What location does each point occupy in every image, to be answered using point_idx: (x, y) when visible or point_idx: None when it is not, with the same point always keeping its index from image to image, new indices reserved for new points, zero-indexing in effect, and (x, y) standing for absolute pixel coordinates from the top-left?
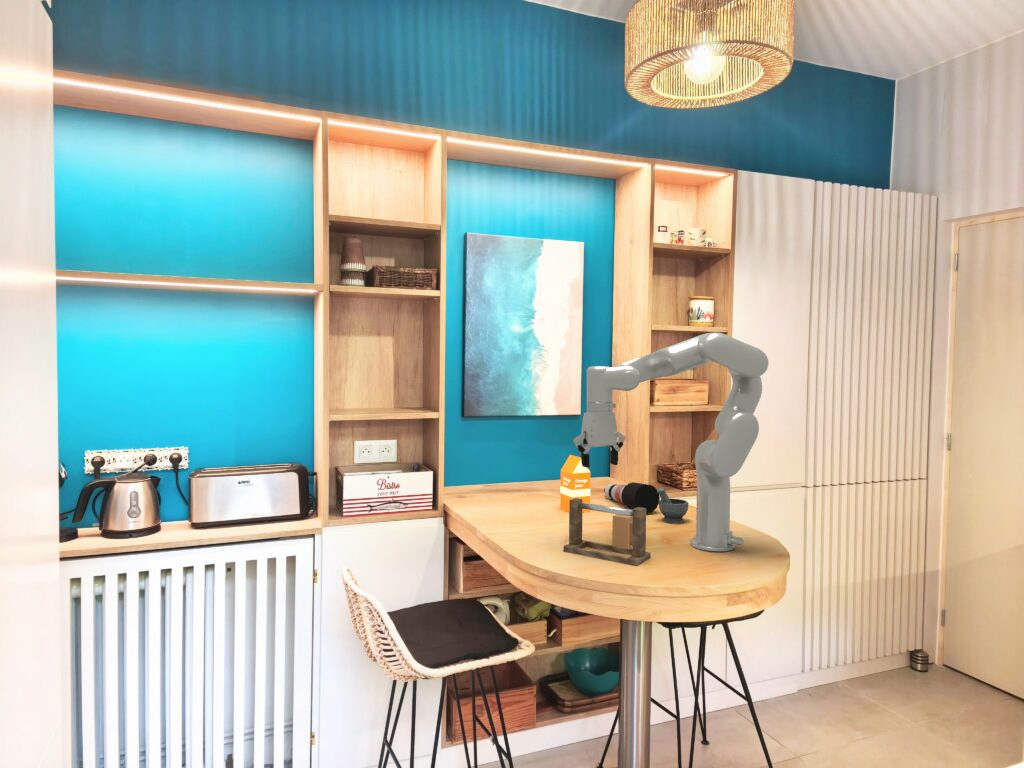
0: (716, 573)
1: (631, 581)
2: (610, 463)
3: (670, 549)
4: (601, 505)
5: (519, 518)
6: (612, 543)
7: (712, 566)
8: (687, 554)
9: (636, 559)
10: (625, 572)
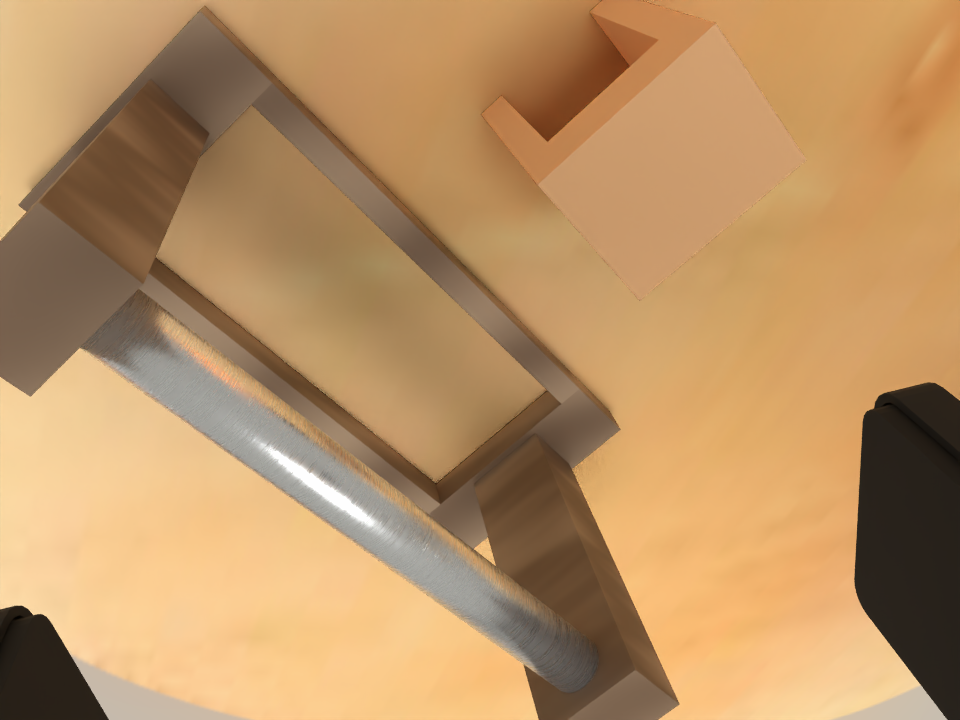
0: (776, 639)
1: (343, 708)
2: (864, 420)
3: (825, 272)
4: (334, 510)
5: None
6: (485, 119)
7: (828, 561)
8: (850, 379)
9: (473, 536)
10: (359, 608)
